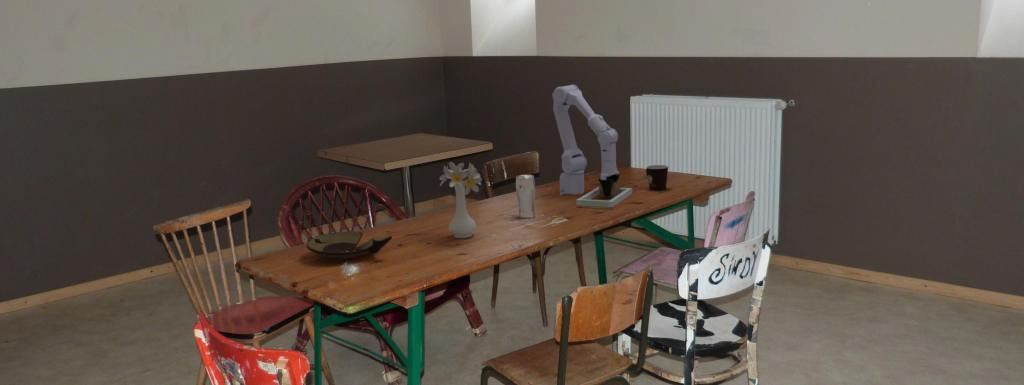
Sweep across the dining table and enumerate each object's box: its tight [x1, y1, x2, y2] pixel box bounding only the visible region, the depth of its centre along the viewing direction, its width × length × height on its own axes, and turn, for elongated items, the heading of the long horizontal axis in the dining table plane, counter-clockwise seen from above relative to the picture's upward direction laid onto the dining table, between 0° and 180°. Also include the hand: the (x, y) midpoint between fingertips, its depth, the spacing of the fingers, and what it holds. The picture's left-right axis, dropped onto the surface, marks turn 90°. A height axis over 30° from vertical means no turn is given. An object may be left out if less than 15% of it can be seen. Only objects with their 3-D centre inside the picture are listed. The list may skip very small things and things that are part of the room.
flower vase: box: [439, 161, 483, 239], centre depth 285 cm, size 13×18×25 cm
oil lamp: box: [306, 231, 393, 260], centre depth 269 cm, size 22×30×8 cm
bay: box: [576, 186, 633, 210], centre depth 328 cm, size 14×25×3 cm, turn 155°
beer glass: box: [515, 174, 536, 219], centre depth 309 cm, size 7×7×15 cm
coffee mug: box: [645, 164, 669, 192], centre depth 342 cm, size 12×9×10 cm
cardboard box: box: [598, 181, 621, 199], centre depth 332 cm, size 7×5×6 cm
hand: (609, 194), depth 333 cm, fingers closed on cardboard box, 5 cm apart
